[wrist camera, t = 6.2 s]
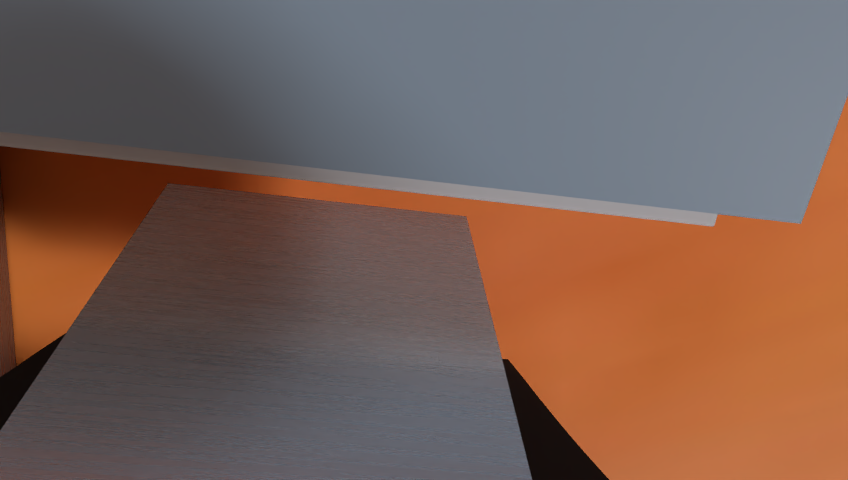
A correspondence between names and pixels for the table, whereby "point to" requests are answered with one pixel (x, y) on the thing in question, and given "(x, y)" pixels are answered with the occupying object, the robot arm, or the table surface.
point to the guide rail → (5, 304)
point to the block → (276, 352)
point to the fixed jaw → (448, 95)
